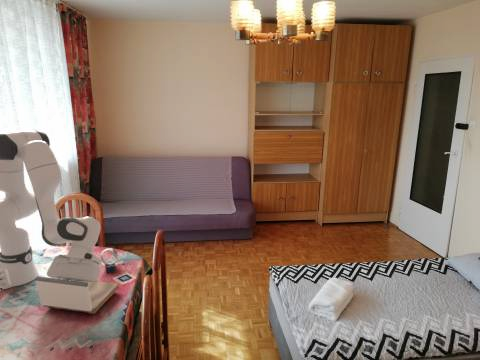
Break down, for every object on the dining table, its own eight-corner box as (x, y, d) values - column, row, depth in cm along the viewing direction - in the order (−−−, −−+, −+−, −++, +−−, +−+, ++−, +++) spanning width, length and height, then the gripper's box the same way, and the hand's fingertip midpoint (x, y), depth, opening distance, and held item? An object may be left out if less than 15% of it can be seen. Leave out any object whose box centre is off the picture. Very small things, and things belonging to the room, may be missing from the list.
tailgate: (40, 305, 131) (34, 277, 127) (43, 302, 132) (37, 275, 128) (90, 311, 128) (85, 284, 124) (92, 309, 129) (87, 281, 125)
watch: (119, 270, 165) (118, 249, 162) (102, 273, 162) (100, 252, 159) (118, 265, 170) (117, 245, 167) (101, 268, 167) (99, 247, 164)
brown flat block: (44, 310, 134) (43, 302, 133) (73, 286, 151) (72, 278, 150) (95, 318, 130) (94, 309, 129) (119, 292, 147) (118, 283, 146)
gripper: (51, 251, 135) (37, 286, 128) (98, 256, 132) (86, 292, 125) (60, 256, 140) (46, 290, 133) (105, 261, 137) (94, 296, 130)
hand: (66, 291), depth 129 cm, fingers closed, pressing on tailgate
